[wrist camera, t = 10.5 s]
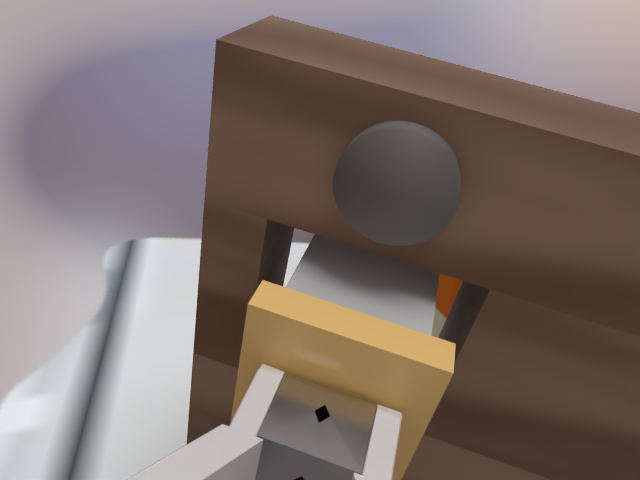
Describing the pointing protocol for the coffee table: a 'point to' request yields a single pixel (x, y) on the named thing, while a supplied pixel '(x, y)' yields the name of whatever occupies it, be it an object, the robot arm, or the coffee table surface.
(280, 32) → the panel
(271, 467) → the robot arm
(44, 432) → the coffee table surface
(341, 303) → the yellow and grey block
